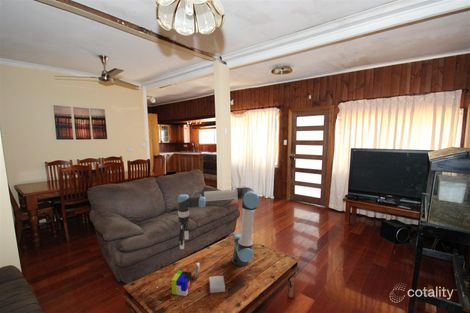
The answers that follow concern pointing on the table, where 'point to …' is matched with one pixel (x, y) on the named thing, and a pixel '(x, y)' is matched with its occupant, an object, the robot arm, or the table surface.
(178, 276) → the puzzle toy
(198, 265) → the dowel
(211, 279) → the slab
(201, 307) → the table surface
